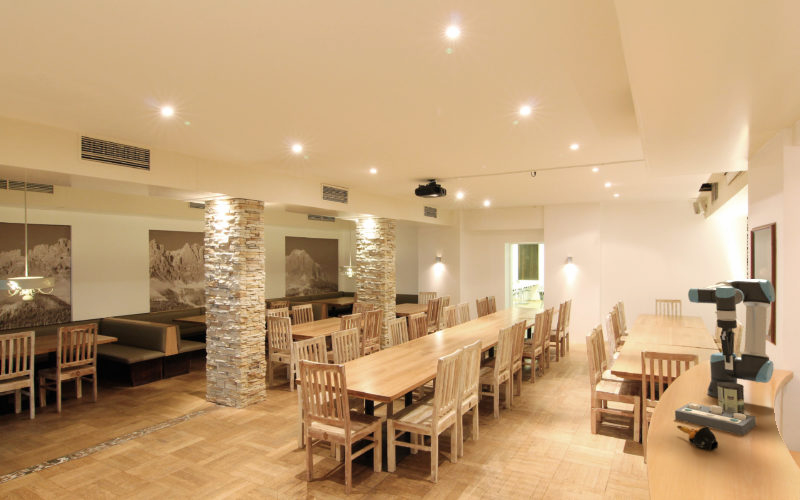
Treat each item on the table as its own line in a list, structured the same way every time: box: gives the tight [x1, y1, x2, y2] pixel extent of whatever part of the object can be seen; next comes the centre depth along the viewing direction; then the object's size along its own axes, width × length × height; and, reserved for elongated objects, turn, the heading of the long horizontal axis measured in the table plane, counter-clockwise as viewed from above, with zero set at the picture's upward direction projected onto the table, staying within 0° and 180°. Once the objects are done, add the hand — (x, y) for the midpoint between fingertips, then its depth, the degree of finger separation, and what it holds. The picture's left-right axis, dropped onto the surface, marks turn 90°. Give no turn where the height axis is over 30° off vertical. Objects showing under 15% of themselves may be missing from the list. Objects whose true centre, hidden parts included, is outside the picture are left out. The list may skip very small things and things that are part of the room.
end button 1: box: [688, 403, 701, 410], centre depth 213 cm, size 4×4×5 cm
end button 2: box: [734, 413, 747, 420], centre depth 199 cm, size 4×4×5 cm
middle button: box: [709, 404, 722, 415], centre depth 206 cm, size 4×4×5 cm
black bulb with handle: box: [676, 425, 719, 451], centre depth 181 cm, size 9×11×18 cm
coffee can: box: [717, 382, 746, 414], centre depth 215 cm, size 10×10×14 cm
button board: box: [674, 402, 757, 436], centre depth 204 cm, size 18×26×4 cm
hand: (729, 369), depth 210 cm, fingers closed
